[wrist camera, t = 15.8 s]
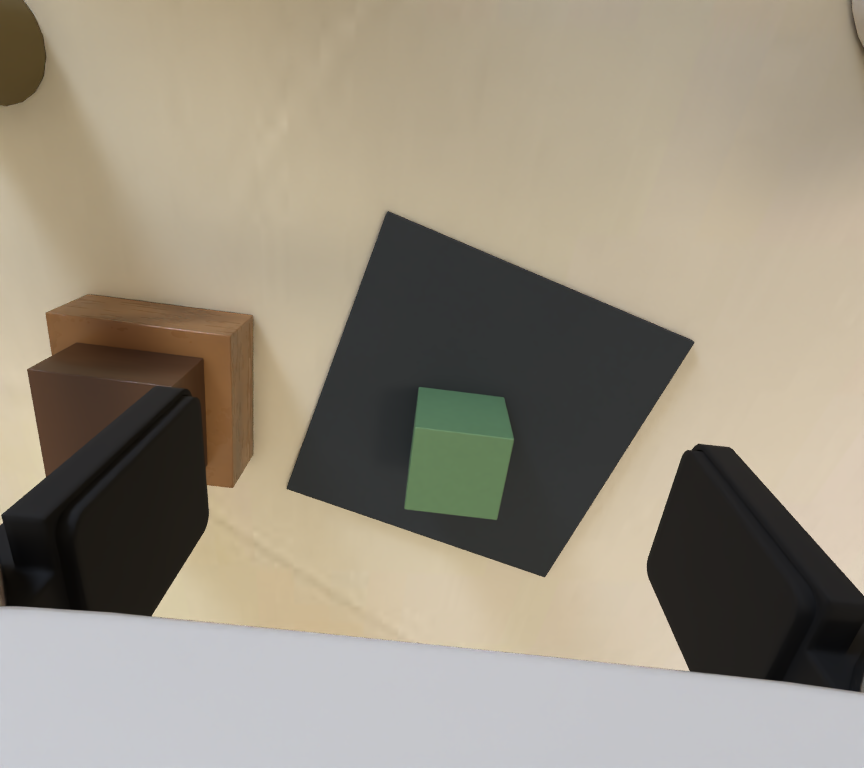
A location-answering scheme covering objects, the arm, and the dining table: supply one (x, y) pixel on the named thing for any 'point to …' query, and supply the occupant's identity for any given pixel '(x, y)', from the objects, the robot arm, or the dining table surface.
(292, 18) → the dining table surface
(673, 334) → the mat
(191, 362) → the walnut block
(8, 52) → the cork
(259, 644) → the robot arm
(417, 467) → the green block
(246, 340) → the oak block
